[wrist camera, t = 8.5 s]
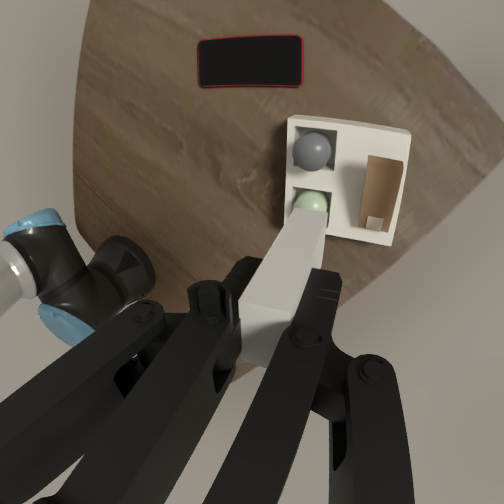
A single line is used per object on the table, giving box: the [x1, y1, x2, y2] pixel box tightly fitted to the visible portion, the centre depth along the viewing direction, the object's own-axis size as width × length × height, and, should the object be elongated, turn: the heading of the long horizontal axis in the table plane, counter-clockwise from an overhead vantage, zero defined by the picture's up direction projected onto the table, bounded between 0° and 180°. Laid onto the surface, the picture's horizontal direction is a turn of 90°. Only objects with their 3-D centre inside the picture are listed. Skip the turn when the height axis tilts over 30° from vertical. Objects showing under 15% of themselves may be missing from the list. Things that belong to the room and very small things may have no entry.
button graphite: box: [292, 131, 333, 172], centre depth 36 cm, size 4×4×4 cm
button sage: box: [292, 188, 329, 212], centre depth 41 cm, size 4×4×4 cm
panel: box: [284, 115, 411, 246], centre depth 39 cm, size 15×15×5 cm
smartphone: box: [198, 35, 303, 87], centre depth 37 cm, size 7×1×15 cm
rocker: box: [358, 155, 404, 232], centre depth 34 cm, size 4×10×2 cm, turn 1°
